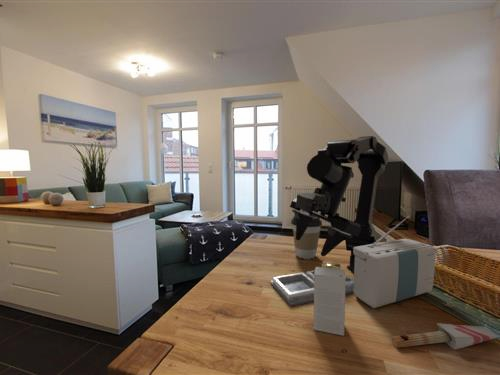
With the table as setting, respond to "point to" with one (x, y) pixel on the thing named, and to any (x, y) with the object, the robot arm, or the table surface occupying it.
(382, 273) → the white boxy appliance
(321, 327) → the skincare box
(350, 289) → the grey divided tray
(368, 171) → the robot arm
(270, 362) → the table surface
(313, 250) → the coffee cup
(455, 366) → the table surface
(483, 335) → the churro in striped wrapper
